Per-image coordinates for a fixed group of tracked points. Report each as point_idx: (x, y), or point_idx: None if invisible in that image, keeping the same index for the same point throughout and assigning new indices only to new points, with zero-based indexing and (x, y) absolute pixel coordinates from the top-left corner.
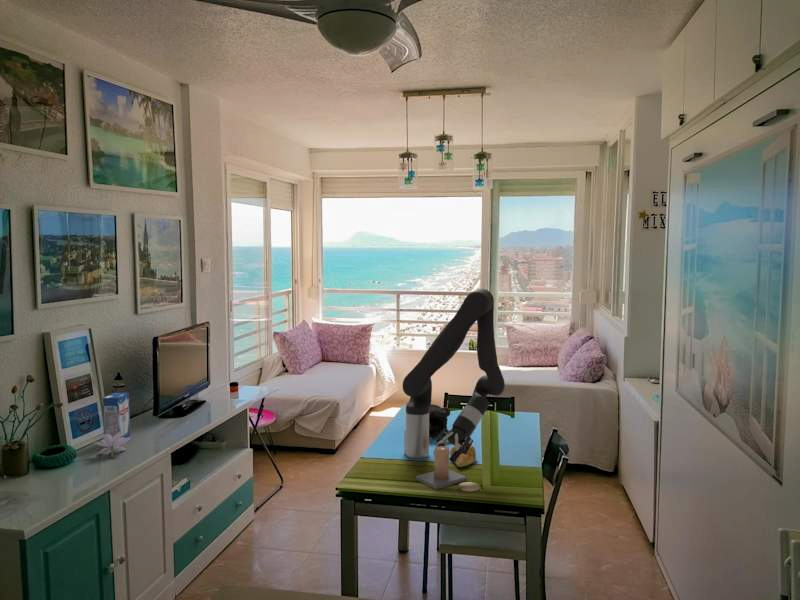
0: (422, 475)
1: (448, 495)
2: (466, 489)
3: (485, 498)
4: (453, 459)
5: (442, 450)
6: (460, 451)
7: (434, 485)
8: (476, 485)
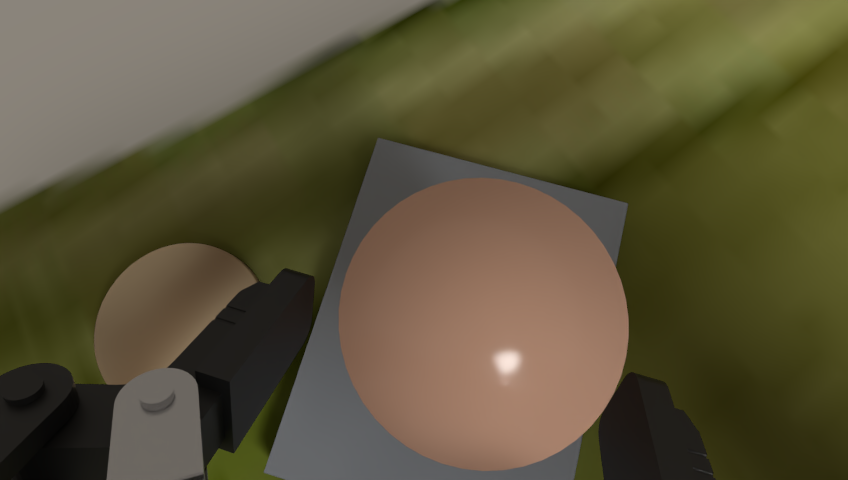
0: None
1: (254, 114)
2: (166, 246)
3: (5, 221)
4: (251, 291)
5: (411, 227)
6: (95, 386)
7: (397, 144)
8: (127, 372)
